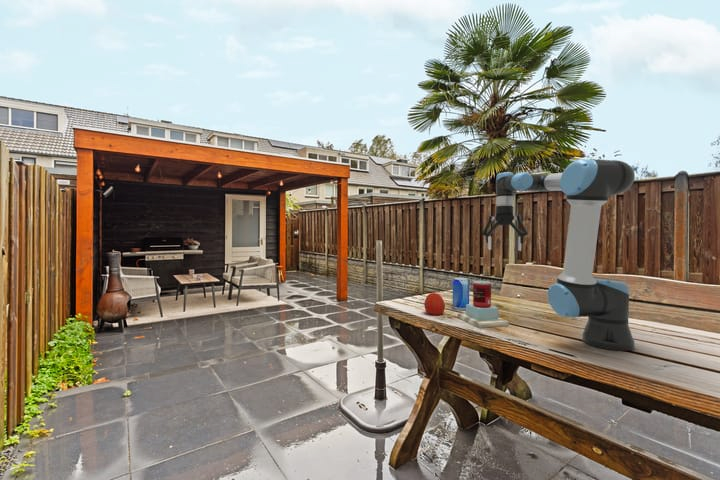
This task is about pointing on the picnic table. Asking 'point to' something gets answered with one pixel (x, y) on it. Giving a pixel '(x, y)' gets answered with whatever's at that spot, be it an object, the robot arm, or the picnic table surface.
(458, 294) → the beer can
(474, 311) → the pedestal
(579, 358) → the picnic table surface
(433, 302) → the apple
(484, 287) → the canned food
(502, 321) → the board
